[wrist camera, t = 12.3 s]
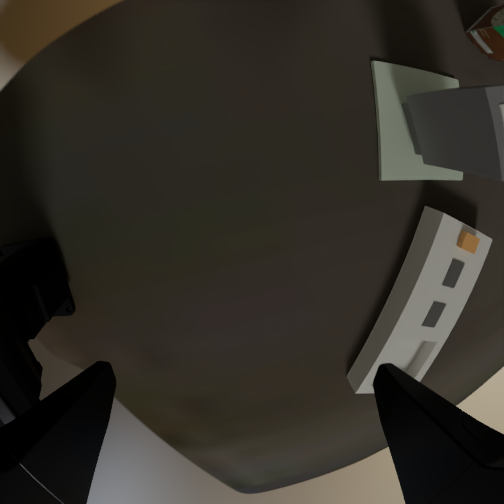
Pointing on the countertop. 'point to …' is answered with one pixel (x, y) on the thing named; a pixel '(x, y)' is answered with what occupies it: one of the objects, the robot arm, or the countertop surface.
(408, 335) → the power strip
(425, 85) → the mat
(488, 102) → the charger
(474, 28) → the food container
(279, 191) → the countertop surface
